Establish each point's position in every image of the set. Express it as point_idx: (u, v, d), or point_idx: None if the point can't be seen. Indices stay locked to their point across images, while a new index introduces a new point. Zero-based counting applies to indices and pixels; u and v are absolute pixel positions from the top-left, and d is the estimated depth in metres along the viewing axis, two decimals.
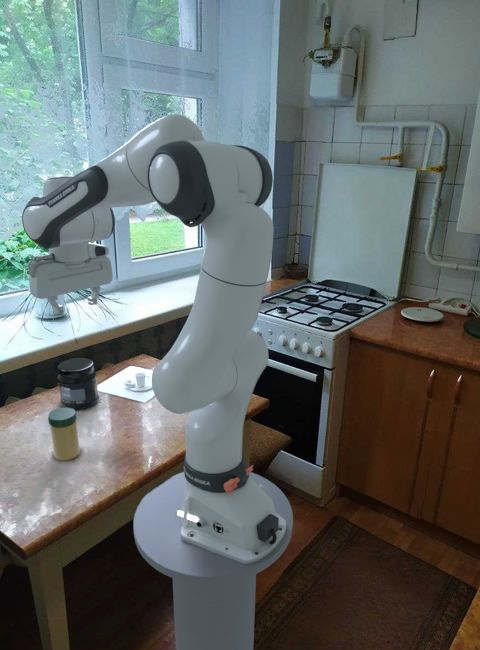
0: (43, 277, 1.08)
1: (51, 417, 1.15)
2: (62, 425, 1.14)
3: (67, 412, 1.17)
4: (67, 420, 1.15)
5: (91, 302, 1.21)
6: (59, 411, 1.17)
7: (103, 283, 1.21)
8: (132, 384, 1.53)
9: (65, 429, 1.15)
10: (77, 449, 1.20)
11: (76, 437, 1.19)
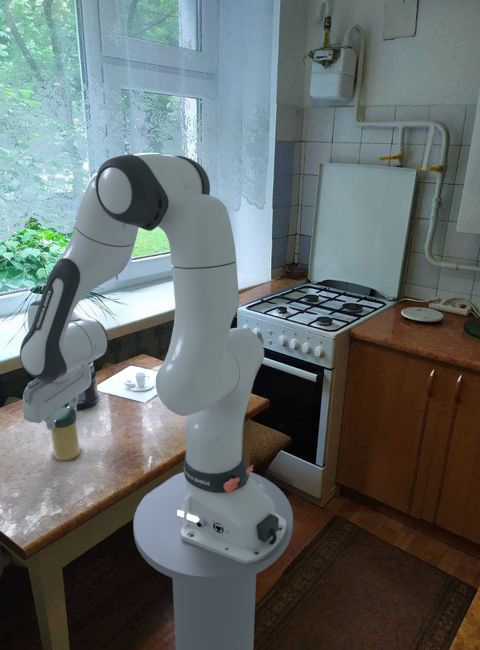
0: (40, 402, 1.06)
1: None
2: (62, 425, 1.14)
3: (67, 412, 1.17)
4: (67, 420, 1.15)
5: None
6: (59, 411, 1.17)
7: (84, 389, 1.21)
8: (132, 384, 1.53)
9: (65, 429, 1.15)
10: (77, 449, 1.20)
11: (76, 437, 1.19)
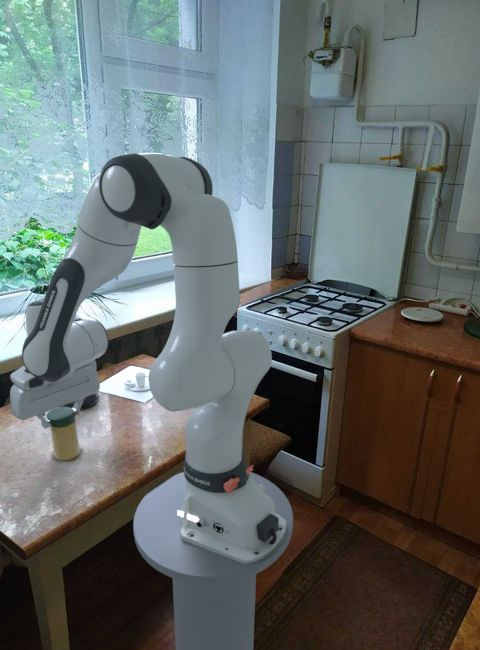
0: None
1: (71, 411, 1.17)
2: None
3: (54, 413, 1.16)
4: None
5: None
6: (60, 416, 1.15)
7: None
8: (132, 384, 1.53)
9: (65, 429, 1.15)
10: (77, 449, 1.20)
11: (76, 437, 1.19)
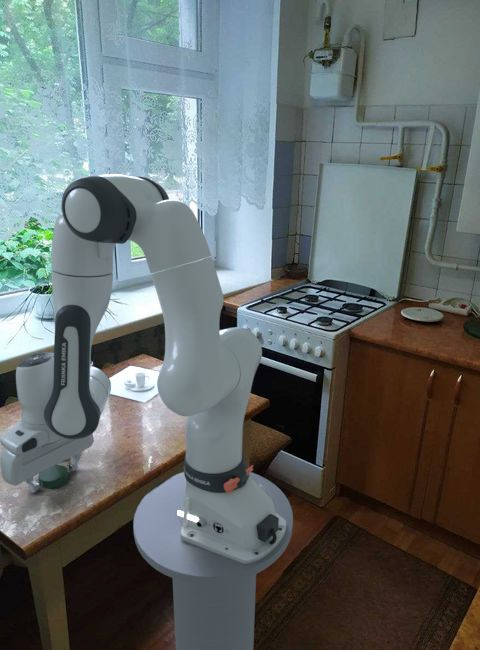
0: None
1: (65, 470, 1.11)
2: None
3: (47, 473, 1.10)
4: None
5: None
6: (53, 476, 1.09)
7: None
8: (132, 384, 1.53)
9: None
10: None
11: None
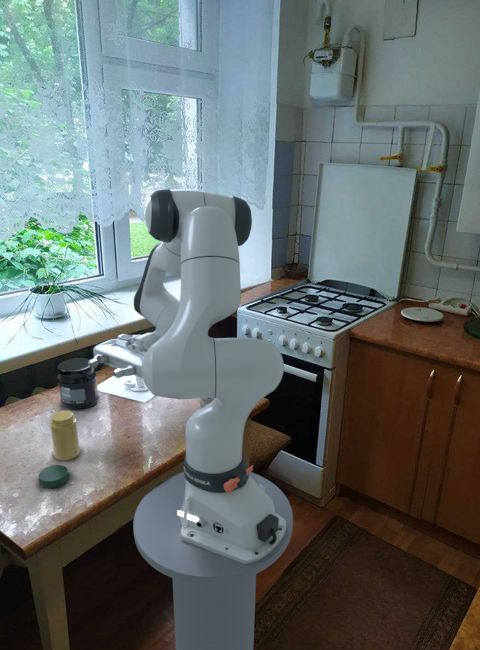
0: None
1: (65, 470, 1.11)
2: None
3: (47, 473, 1.10)
4: None
5: (94, 366, 1.26)
6: (53, 476, 1.09)
7: None
8: (132, 384, 1.53)
9: (65, 429, 1.15)
10: (77, 449, 1.20)
11: (76, 437, 1.19)
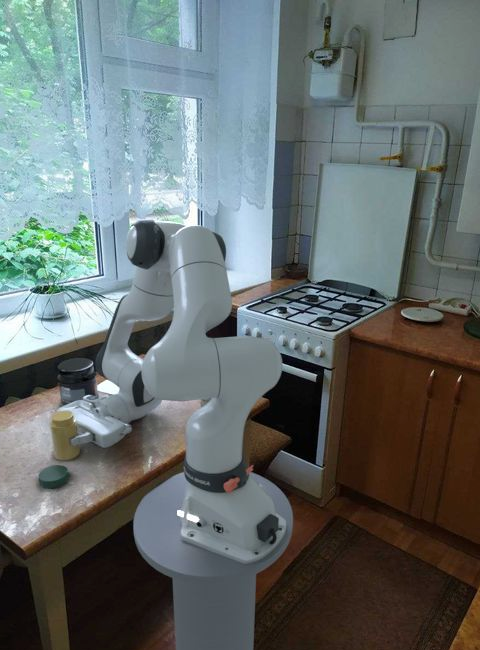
0: None
1: (65, 470, 1.11)
2: None
3: (47, 473, 1.10)
4: None
5: None
6: (53, 476, 1.09)
7: None
8: None
9: (65, 429, 1.15)
10: (77, 449, 1.20)
11: None
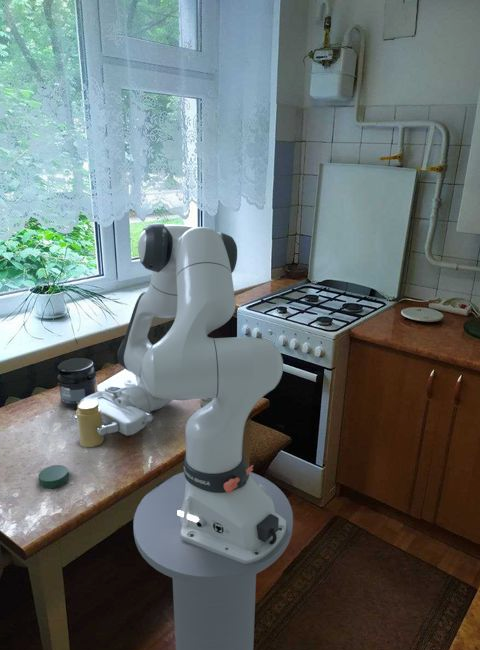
0: None
1: (65, 470, 1.11)
2: None
3: (47, 473, 1.10)
4: None
5: None
6: (53, 476, 1.09)
7: None
8: (132, 384, 1.53)
9: (90, 417, 1.21)
10: (101, 437, 1.25)
11: (101, 425, 1.24)
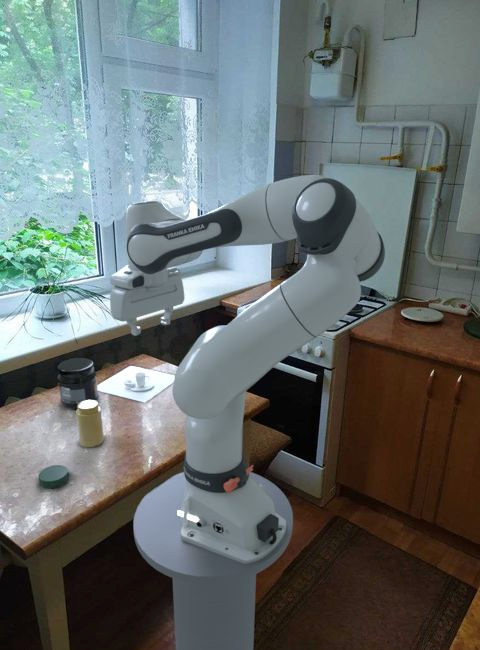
0: None
1: (65, 470, 1.11)
2: None
3: (47, 473, 1.10)
4: None
5: None
6: (53, 476, 1.09)
7: None
8: (132, 384, 1.53)
9: (90, 417, 1.21)
10: (101, 437, 1.25)
11: (101, 425, 1.24)
